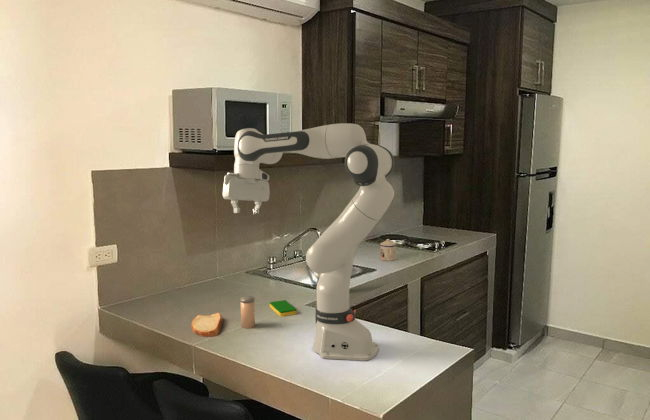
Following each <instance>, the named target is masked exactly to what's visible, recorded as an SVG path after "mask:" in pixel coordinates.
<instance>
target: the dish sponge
mask: <svg viewBox="0 0 650 420" xmlns="http://www.w3.org/2000/svg"><path fill="white" fill-rule="evenodd" d="M269 308H270V309H272V310H273V312H274V313H276V314H277V315H278V316H279V317H287V316H291V315H292V316H293V315H294V316H295V315H297V313H298V312H297V309H296V308H295V307H294V306H293V305H292V304H291V303H290V302H288V301H287V300H286V299H284V300H283V299H282V300H277V301H270V302H269Z"/></svg>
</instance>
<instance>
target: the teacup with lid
mask: <svg viewBox="0 0 650 420" xmlns="http://www.w3.org/2000/svg"><path fill="white" fill-rule="evenodd" d="M379 246H380V250H379V251H380V252H379V253H380V254H379V255H380V260H381V261H385V262H392V261H395V260H396V258H397V256H396V254H397V251H396V250H397V248H396V246H397V243H396V242H393V241H392V240H390V239H389V238H387V239H386V240H385V241H382V242H380V243H379Z"/></svg>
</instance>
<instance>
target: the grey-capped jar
mask: <svg viewBox="0 0 650 420" xmlns="http://www.w3.org/2000/svg"><path fill="white" fill-rule="evenodd" d="M239 303H240V326H241V328H242V329H253V328H255V326H256V316H255V315H256V314H255V311H256V310H255V296H252V295H245V296H241V297H239Z"/></svg>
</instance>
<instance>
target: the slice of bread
mask: <svg viewBox="0 0 650 420" xmlns="http://www.w3.org/2000/svg"><path fill="white" fill-rule="evenodd" d="M222 325H223V317H222V315H221V313H220V312H216V313H212V314H209V315H206V314H205V315H204V314H198V315H196V316H195V317H194V318H193V319H192V321H191V326H190V328H191V332H192V333H193V334H195V335H196V336H199V337H202V338H203V337H204V338H213V337H217V336H218V335H219V333H220V331H221V328H222Z"/></svg>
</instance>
